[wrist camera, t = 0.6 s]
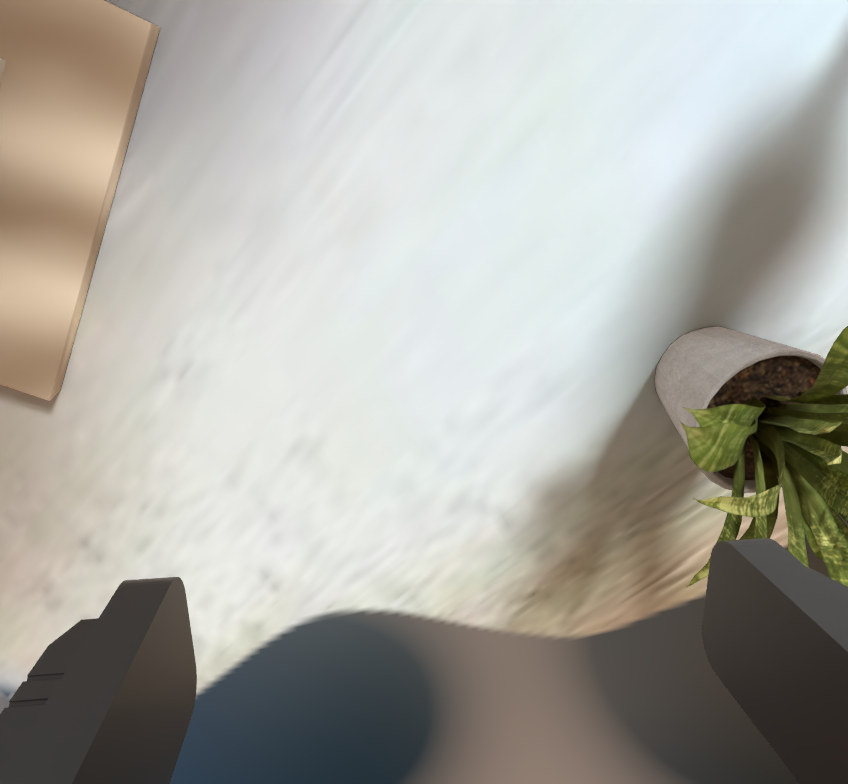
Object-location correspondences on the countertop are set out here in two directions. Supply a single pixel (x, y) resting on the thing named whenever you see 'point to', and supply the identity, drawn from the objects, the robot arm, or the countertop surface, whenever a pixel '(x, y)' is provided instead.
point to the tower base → (59, 168)
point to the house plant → (765, 434)
